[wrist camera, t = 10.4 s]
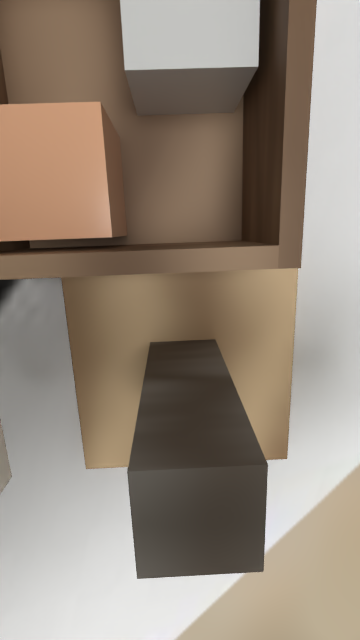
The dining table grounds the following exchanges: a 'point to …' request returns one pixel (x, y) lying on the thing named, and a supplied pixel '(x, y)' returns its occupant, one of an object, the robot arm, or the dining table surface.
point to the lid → (186, 405)
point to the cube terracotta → (60, 172)
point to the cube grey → (189, 53)
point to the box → (171, 146)
